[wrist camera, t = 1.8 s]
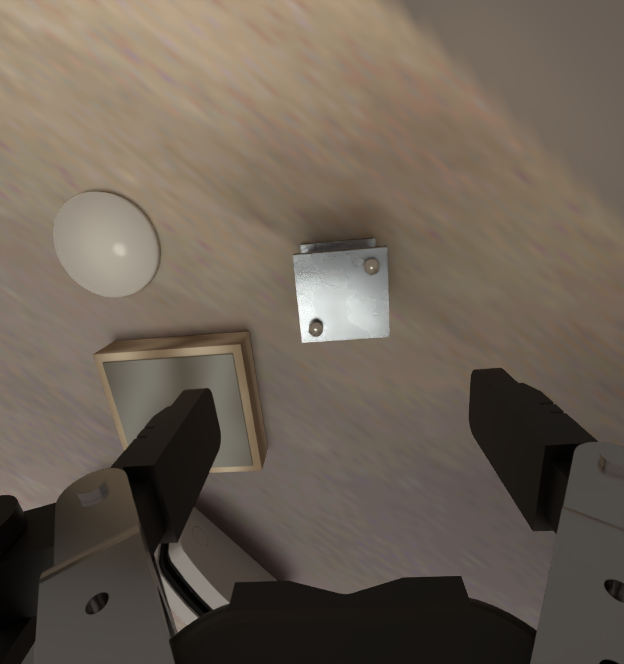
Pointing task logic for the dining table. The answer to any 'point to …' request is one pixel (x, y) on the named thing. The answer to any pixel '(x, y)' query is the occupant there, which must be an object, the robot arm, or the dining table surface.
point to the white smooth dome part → (106, 244)
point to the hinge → (203, 568)
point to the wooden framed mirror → (188, 373)
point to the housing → (342, 290)
